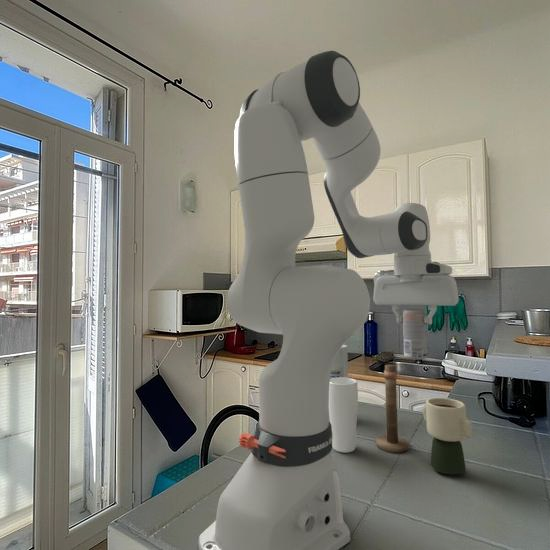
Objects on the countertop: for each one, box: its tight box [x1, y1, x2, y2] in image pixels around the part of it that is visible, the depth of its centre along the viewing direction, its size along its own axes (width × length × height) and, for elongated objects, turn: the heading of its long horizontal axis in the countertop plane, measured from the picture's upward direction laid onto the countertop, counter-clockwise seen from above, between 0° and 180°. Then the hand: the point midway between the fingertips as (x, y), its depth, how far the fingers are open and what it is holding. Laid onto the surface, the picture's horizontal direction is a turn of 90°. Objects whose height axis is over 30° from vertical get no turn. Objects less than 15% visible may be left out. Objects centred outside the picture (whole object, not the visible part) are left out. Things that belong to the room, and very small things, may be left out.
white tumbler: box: [329, 377, 359, 454], centre depth 79 cm, size 7×7×15 cm
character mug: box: [422, 397, 473, 475], centre depth 69 cm, size 11×7×13 cm, turn 24°
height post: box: [375, 364, 410, 454], centre depth 80 cm, size 7×7×18 cm
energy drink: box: [402, 308, 428, 361], centre depth 88 cm, size 5×5×12 cm
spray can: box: [329, 344, 349, 421], centre depth 98 cm, size 6×6×20 cm
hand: (414, 323), depth 88 cm, fingers closed on energy drink, 5 cm apart
